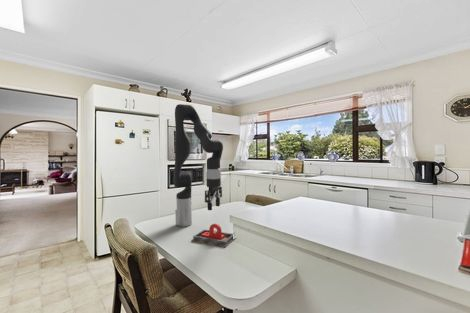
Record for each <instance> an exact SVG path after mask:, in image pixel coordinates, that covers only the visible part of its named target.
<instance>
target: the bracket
mask: <svg viewBox="0 0 470 313" xmlns="http://www.w3.org/2000/svg"><path fill="white" fill-rule="evenodd" d="M214 229H216V231H217V233H216V232H214V231H215V230H214ZM208 230H209V232H205V233H203V234H201V237H206V238H211V239H216V240H222V239H223V238H224V237H225V235H222V232H223V231H222V227H221V226H220V224H218V223H212V224H210V226H209V229H208Z"/></svg>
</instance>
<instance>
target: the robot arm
mask: <svg viewBox="0 0 470 313" xmlns="http://www.w3.org/2000/svg"><path fill="white" fill-rule="evenodd" d="M184 121H187V122H188V121H190V122H191V123H192V124H193V132H194V135H195V136H196V137H197V139H198V140H200V144H201V147H202V150H203V151H204V152H205V153H208V154H212V156H210V157H208V158H207V159H206V173H205V174H206V175H205V176H206V178H205V179H206V180H205V182H206V187H207V188H208V190H207V189H206V190H204V203H207V210H208V211H212V210H213V200H214V199H215V207H220V206H221V201H220V200H221V198H222V197H223V188H222V186H221V185H222V180H221V178H222V176H221V174H222V173H221V159H222V155H223V150H224V143H223V142H222V141H221V140H220V139H214V138H213V139H212V137H213V135H212V133H211V132H210V130H209V129H208V127H206V125H205V124H204V123H203V121H202V119H201V117H200V115H199V112H197V110H196V108H195V107H194V105H192V104H180V103H179V104H176V106H175V108H174V122H175V124H174V125H175V141H174V142H175V143H174V170H173V172H174V173H173V185H174V187H175V189H176V188H184V189H183V190H181V191H178V193H176V209H175V225H176V226H178V227H181V228H182V227H183V228H184V227H189V226H191V225H192V224H193V220H192V219H193V218H192V216H193V214H192V212H193V211H192V181H193V178H192V174H191V172H188V171H187V172H181V171H182V167H183V166H184V163H185V162H186V161H187V159H188V158H189V156H190V155H191V147H192V146H191V145H192V144H191V140H190V137H189V136H188V134H187V132H186V130H185V125H184V124H185V123H184Z"/></svg>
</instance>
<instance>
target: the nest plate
mask: <svg viewBox="0 0 470 313" xmlns="http://www.w3.org/2000/svg"><path fill="white" fill-rule="evenodd" d="M205 232H209V229H203V230H201V231H200V232H198V233H196V234H194V235H193V236H192V239H191V242H195V243H199V244H204V243H205V245H211V246H216V247H219V248H220V247H221V248H227V247H228V246H229V245H230V244H232V242H234V241H235V240H234V239H233V234H234V233H232V232H231V233H229V232H223V231H222V235H225V237H224V238H223V239H222V240H216V239H211V238H206V237H201V234H203V233H205ZM214 232H216V233H217V230H214Z"/></svg>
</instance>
